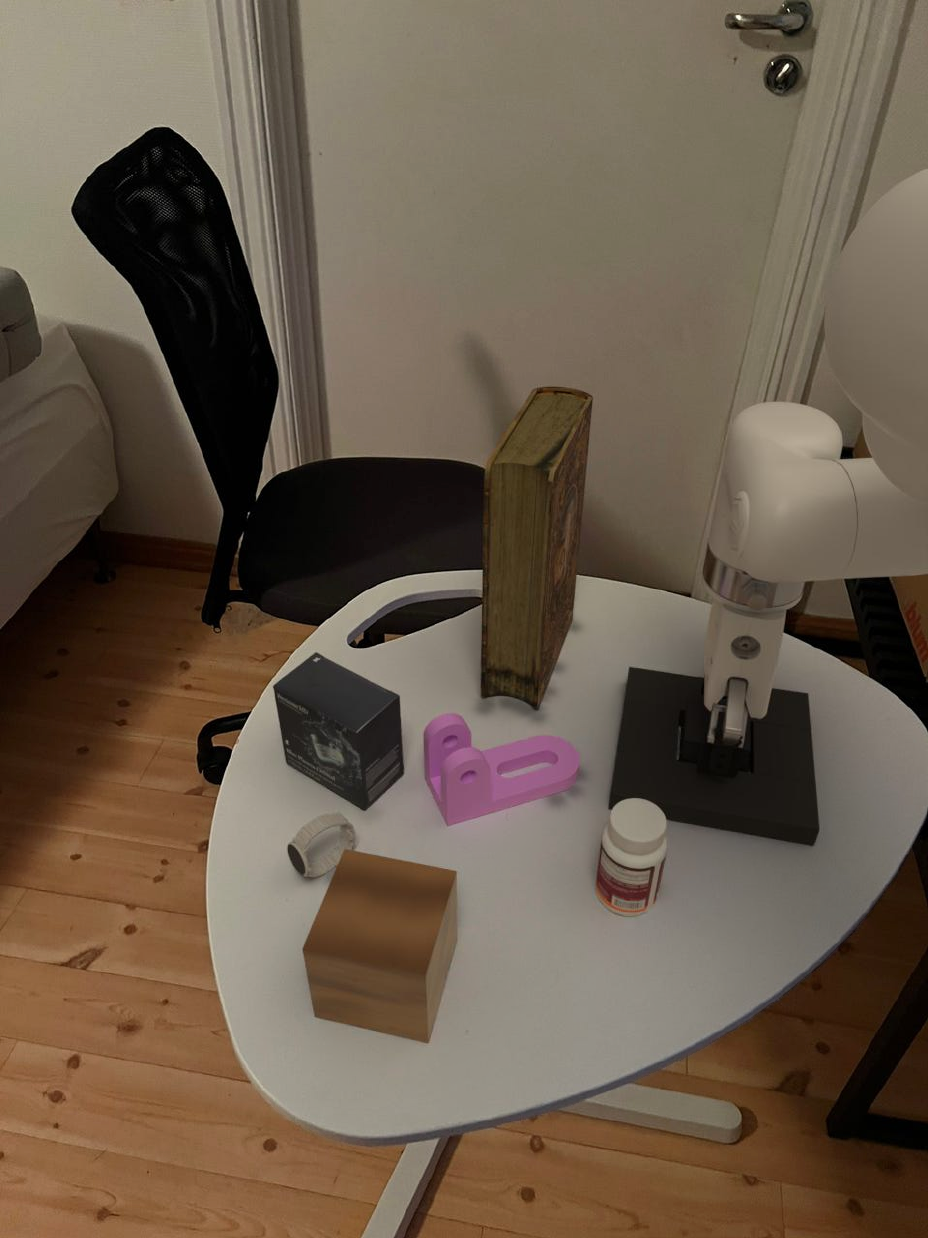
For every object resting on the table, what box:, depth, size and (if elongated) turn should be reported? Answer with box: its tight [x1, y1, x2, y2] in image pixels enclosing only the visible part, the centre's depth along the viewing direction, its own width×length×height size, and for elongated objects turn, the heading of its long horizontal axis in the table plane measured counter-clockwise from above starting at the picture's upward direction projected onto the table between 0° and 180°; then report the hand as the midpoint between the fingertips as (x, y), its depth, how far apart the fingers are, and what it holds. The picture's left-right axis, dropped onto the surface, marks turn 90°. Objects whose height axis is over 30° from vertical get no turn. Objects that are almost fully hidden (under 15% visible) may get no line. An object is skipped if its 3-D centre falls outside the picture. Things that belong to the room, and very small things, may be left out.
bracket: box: [422, 712, 581, 827], centre depth 78 cm, size 13×6×7 cm, turn 111°
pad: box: [678, 698, 751, 772], centre depth 81 cm, size 5×5×4 cm
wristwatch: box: [286, 812, 356, 878], centre depth 71 cm, size 3×5×5 cm, turn 130°
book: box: [480, 386, 594, 710], centre depth 86 cm, size 16×6×25 cm, turn 162°
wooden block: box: [302, 849, 458, 1044], centre depth 63 cm, size 8×8×8 cm
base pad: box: [607, 666, 820, 847], centre depth 82 cm, size 16×16×2 cm
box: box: [272, 651, 405, 811], centre depth 78 cm, size 9×6×10 cm, turn 54°
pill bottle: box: [595, 798, 669, 917], centre depth 68 cm, size 5×5×8 cm
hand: (717, 732), depth 80 cm, fingers open, 9 cm apart
